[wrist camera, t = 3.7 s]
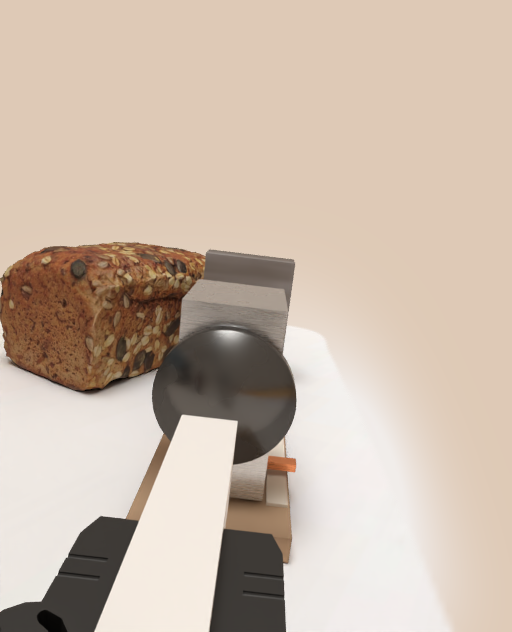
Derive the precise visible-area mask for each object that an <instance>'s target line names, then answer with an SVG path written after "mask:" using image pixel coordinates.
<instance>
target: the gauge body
mask: <svg viewBox="0 0 512 632" xmlns="http://www.w3.org/2000/svg"><path fill="white" fill-rule="evenodd" d="M294 268H295V262H294V260H292V259H283V258H275V257H267V256H258V255H251V254H241V253H234V252H226V251H217V250H209V251H207V252H206V258H205V269H204V280H212V281H220V282H228V283H237V284H245V285H253V286H262V287H270V288H278V289H284V290H285V296H286V302H287V307H288V311H289V304H290V297H291V290H292V282H293V275H294ZM286 326H287V325H286ZM285 333H286V332H285ZM283 348H284V347H283ZM282 355H283V354H282ZM170 443H171V441H170V440H169V439H168V438H167V437H166V435H165V434H163V437H162V439H161V441H160V443H159V445H158V448H157V450H156V452H155V454H154V457H153V459H152V461H151V463H150V466H149V468H148V470H147V472H146V475H145V477H144V479H143V481H142V484H141V486H140V488H139V490H138V493H137V495H136V497H135V499H134V501H133V504H132V506H131V508H130V510H129V513H128V515H127V517H126V519H129V520H138V521H139V520H140V517H141V515H142V513H143V510H144V508H145V505H146V503H147V500H148V498H149V495H150V493H151V490H152V488H153V485H154V483H155V480H156V478H157V475H158V473H159V470H160V468H161V465H162V463H163V461H164V458H165V456H166V453H167V451H168V448H169V446H170ZM268 456H276V457H285V458H286V448H285V436H284V438H283V439H282V440H281V441H280V442H279V444H278V445H277V446H276V447H274V448H273V449H272V450H271V451H269V455H268ZM225 529H232V530H240V531H249V532H258V533H267V534H272V535H273V537H274V539H275V541H276V543H277V544H278V546H279V548H280V550H281V552H282V554H283V562H285V563H288V560H289V553H290V547H291V541H292V535H291V520H290V506H289V491H288V477H287V471H280V470H272V469H267V470H266V477H265V484H264V491H263V499H262V501H257V500H248V499H240V498H231V497H229V503H228V512H227V519H226V527H225Z"/></svg>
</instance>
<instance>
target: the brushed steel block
mask: <svg viewBox="0 0 512 632" xmlns="http://www.w3.org/2000/svg"><path fill="white" fill-rule="evenodd" d="M287 318H288V307H287V302H286V296H285V290H284V289H278V288H270V287H262V286H253V285H245V284H237V283H228V282H220V281H212V280H203V279H199V280H198V281H197V283H196V284H195V285H194V286H193V287H192V288H191V290H190V291H189V292H188V293H187V294H186V295H185V296H184V298H183V299H182V308H181V320H180V333H179V342H178V343H177V344H176V345H175V346H174V347H173V348H172V349H171V351H170V352H169V353H168V354H167V356H166V358H165V359H164V361H163V362H162V364H161V365H160V367H159V369H158V371H157V374H156V376H155V380H154V383H153V390H152V402H153V409H154V413H155V416H156V419H157V421H158V424H159V426H160V428H161V429H162V431H163V433H164V434H165V435H166V437H167V438H168V439H169V440H170V441H172V438H173V436H174V433H175V431H176V428H177V426H178V423H179V421H180V418H181V416H182V415H189V416H198V417H207V418H215V419H224V420H233V421H238V424H237V432H236V441H235V450H234V459H233V468H232V477H231V485H230V494H229V497H231V498H240V499H248V500H257V501H262V499H263V491H264V484H265V477H266V470H267V469H272V470H280V471H289V472H295V469H296V460H295V459H293V458H285V457H276V456H268V455H269V451H271V450H272V449H273V448H274V447H276V446H277V445H278V444H279V442H280V441H281V440H282V439H283V438H284V436H285V435H286V434H287V432H288V430H289V428H290V426H291V424H292V421H293V419H294V415H295V410H296V389H295V383H294V378H293V374H292V372H291V369H290V366H289V365H288V363H287V361H286V359H285V358H284V356H283V355H282V354H283V347H284V340H285V332H286V325H287Z"/></svg>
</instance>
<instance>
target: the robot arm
mask: <svg viewBox="0 0 512 632" xmlns="http://www.w3.org/2000/svg"><path fill="white" fill-rule="evenodd" d="M237 424H238V421H233V420H224V419H215V418H207V417H198V416H189V415H182V416H181V418H180V421H179V423H178V426H177V428H176V431H175V433H174V436H173V438H172V441H171V443H170V446H169V448H168V451H167V453H166V456H165V458H164V461H163V463H162V465H161V468H160V470H159V473H158V475H157V478H156V480H155V483H154V485H153V488H152V490H151V493H150V495H149V498H148V500H147V503H146V505H145V508H144V510H143V513H142V515H141V517H140V520H139V521H138V520H129V519H121V518H112V517H103V516H100V517H99V518H98V519H97V520H95V521H94V522H93V523H92V524H90V525H89V526H88V527H87V528H86V529H84V530H83V531H82V532H81V533H80V534H79V536H78V538H77V540H76V541H75V543H74V545H73V547H72V549H71V550H70V552H69V555H68V558H66V559H65V561H64V563H63V564H62V566H61V568H60V570H59V572H58V576H56V577H55V579H54V580H53V582H52V584H51V586H50V587H49V589H48V591H47V593H46V594H45V596H44V598H43V600H42V602H25V603H22V604H19V605H16V606H13V607H10V608H7V609H4V610H3V611H1V612H0V632H286V622H285V600H284V581H283V577H284V573H283V554H282V552H281V550H280V548H279V546H278V544H277V543H276V541H275V539H274V537H273V535H272V534H267V533H258V532H249V531H240V530H232V529H225V527H226V519H227V512H228V503H229V494H230V485H231V477H232V468H233V459H234V450H235V441H236V432H237Z"/></svg>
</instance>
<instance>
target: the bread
mask: <svg viewBox="0 0 512 632" xmlns="http://www.w3.org/2000/svg"><path fill="white" fill-rule="evenodd" d="M205 258H206V256H203V255H201V254H199V253H196V252H190V251H186V250H183V249H177V248H167V247H162V246H155V245H147V244H140V243H119V242H113V243H109V244H99V245H83V246H78V247H67V246H53V247H48V248H43V249H42V250H40V251H38V252H33V253H31V254H29V255H28V256H26V257H25V258H24V259H22V260H19V261H17V262H16V263H15V264H13V265H12V266H10V267H9V268H8V269H7V270H6V271H5V273H4V274H3V277H2V278H0V281H1V283H2V293H1V297H0V321H1V324H2V327H3V331H4V333H3V338H4V340H5V342H4V348H5V350H6V352H7V354H6V356H8V357H10V358H11V359H12V361H13V362H14V363H16V364H17V365H18V366H20V367H21V368H24V369H26V370H29V371H31V372H33V373H35V374H37V375H41V376H44V377H46V378H48V379H50V380H51V381H54V382H57V383H60V384H62V385H64V386H66V387H69V388H71V389H73V390H80V391H84V390H85V389H97V388H101V389H103V388H104V387H105V386H106V385H107V384H108V383H109V382H110V381H112V380H114V379H117V378H126V377H134V376H137V375H139V374H142V373H143V372H145V373H147V372H148V371H150V370H152V369H155V368H158V367H160V365H161V364H162V362H163V361H164V359H165V358H166V356H167V354H168V353H169V352H170V351H171V349H172V348H173V347H174V346H175V345H176V344H177V343H178V342H179V333H180V320H181V308H182V299H183V298H184V296H185V295H186V294H187V293H188V292H189V291H190V290H191V288H192V287H193V286H194V285H195V284H196V283H197V281H198V280H199V279H203V280H204V269H205Z"/></svg>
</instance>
